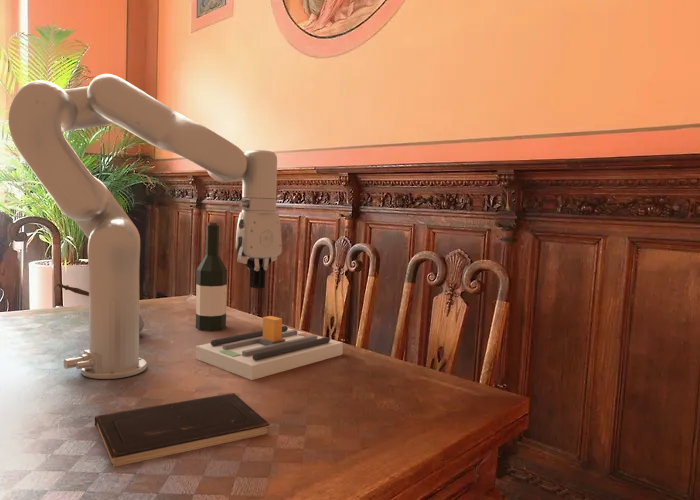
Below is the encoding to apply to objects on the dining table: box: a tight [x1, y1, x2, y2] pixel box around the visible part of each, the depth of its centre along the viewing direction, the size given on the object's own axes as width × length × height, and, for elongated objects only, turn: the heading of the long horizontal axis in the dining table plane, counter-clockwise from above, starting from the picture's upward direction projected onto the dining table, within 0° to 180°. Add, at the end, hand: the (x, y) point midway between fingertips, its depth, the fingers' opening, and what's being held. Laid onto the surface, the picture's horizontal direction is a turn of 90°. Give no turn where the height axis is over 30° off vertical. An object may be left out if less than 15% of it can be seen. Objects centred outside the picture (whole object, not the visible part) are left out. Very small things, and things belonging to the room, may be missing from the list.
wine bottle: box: [195, 221, 228, 332], centre depth 151 cm, size 8×8×30 cm
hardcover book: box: [94, 392, 270, 467], centre depth 85 cm, size 16×23×2 cm
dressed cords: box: [210, 325, 330, 360], centre depth 126 cm, size 23×16×1 cm
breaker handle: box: [259, 315, 285, 345], centre depth 126 cm, size 4×5×6 cm
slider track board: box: [195, 327, 344, 381], centre depth 127 cm, size 28×20×4 cm
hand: (257, 287), depth 121 cm, fingers closed
